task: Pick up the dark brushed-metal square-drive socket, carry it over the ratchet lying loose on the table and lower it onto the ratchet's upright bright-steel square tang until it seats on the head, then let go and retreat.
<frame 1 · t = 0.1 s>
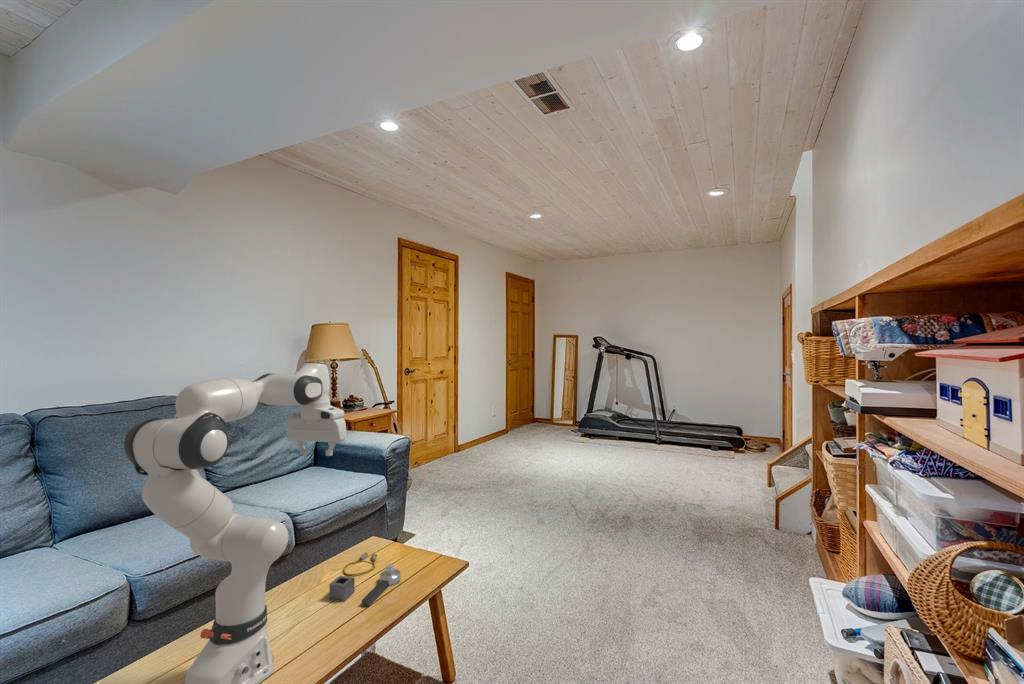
hand: (316, 454, 149), 48 cm above the table, fingers open, 8 cm apart
extension cord: (362, 567, 174), on the table
ratchet: (390, 581, 162), on the table
socket: (342, 595, 153), on the table
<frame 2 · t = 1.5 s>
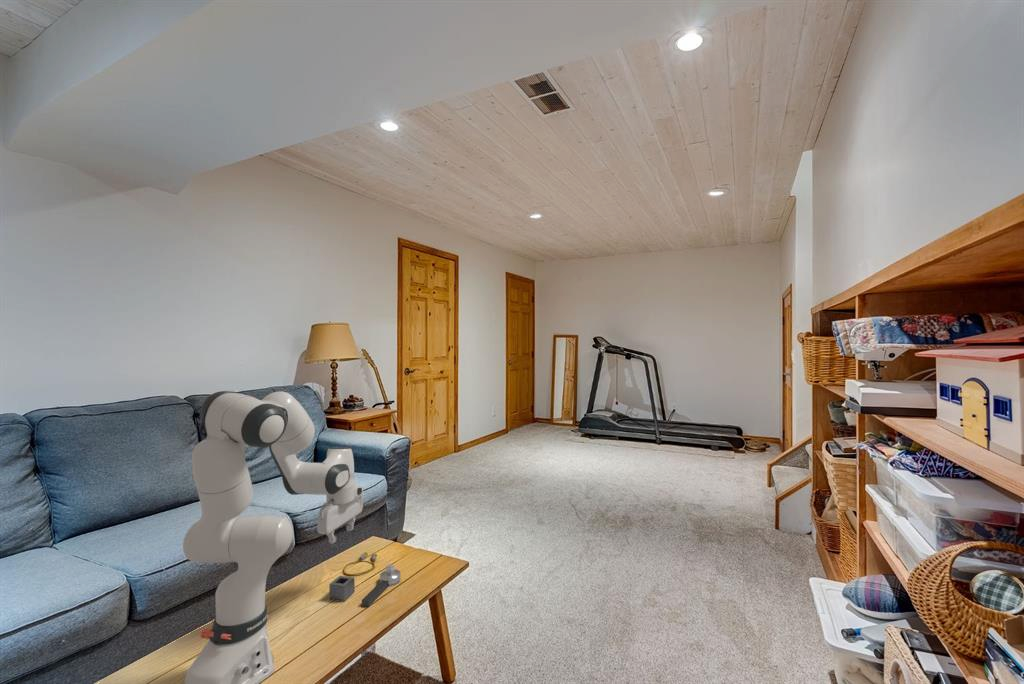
hand: (341, 536, 153), 20 cm above the table, fingers open, 8 cm apart
nothing on the table moved.
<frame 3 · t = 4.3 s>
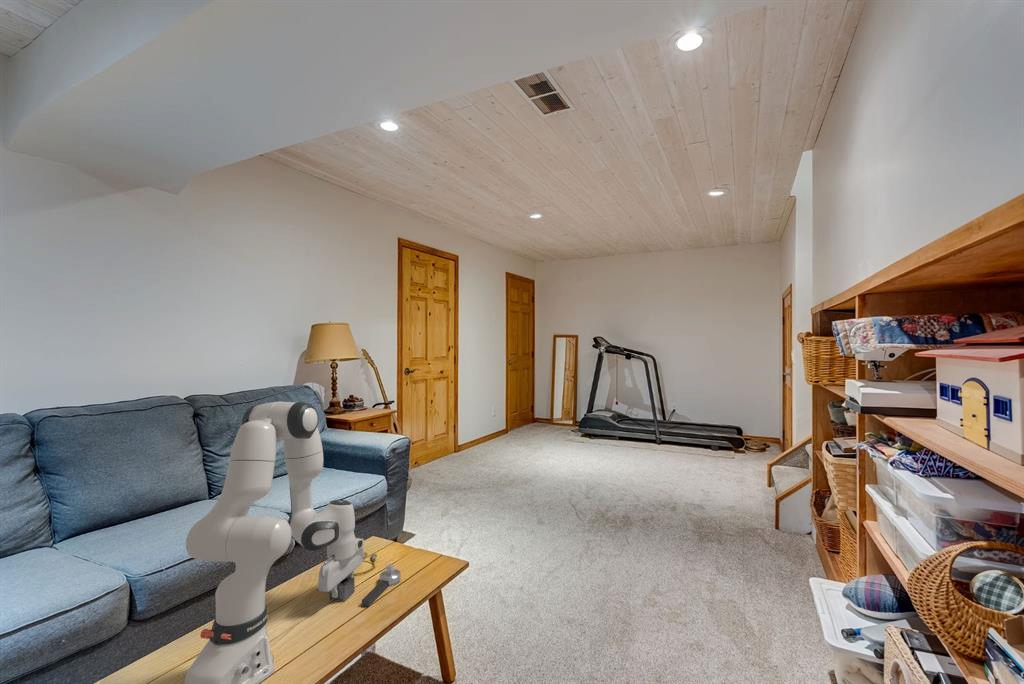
hand: (342, 591, 153), 2 cm above the table, fingers closed on socket, 6 cm apart
socket: (342, 595, 153), on the table, touching gripper
everything else where it was.
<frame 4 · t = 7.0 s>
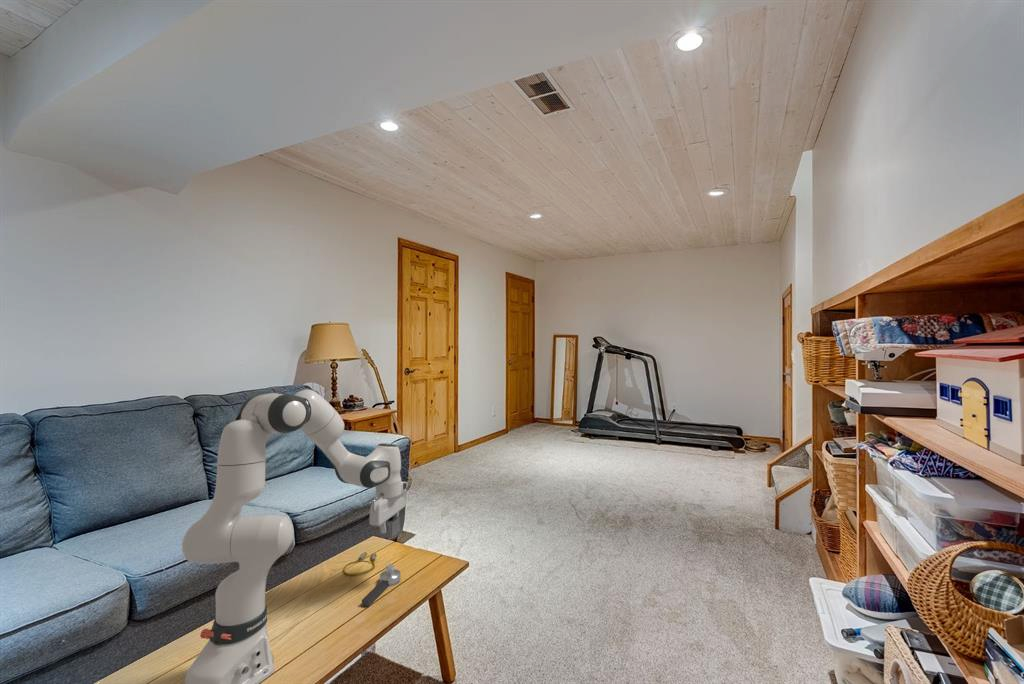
hand: (389, 528, 162), 18 cm above the table, fingers closed on socket, 6 cm apart
socket: (389, 533, 162), point 17 cm above the table, touching gripper
everything else where it was.
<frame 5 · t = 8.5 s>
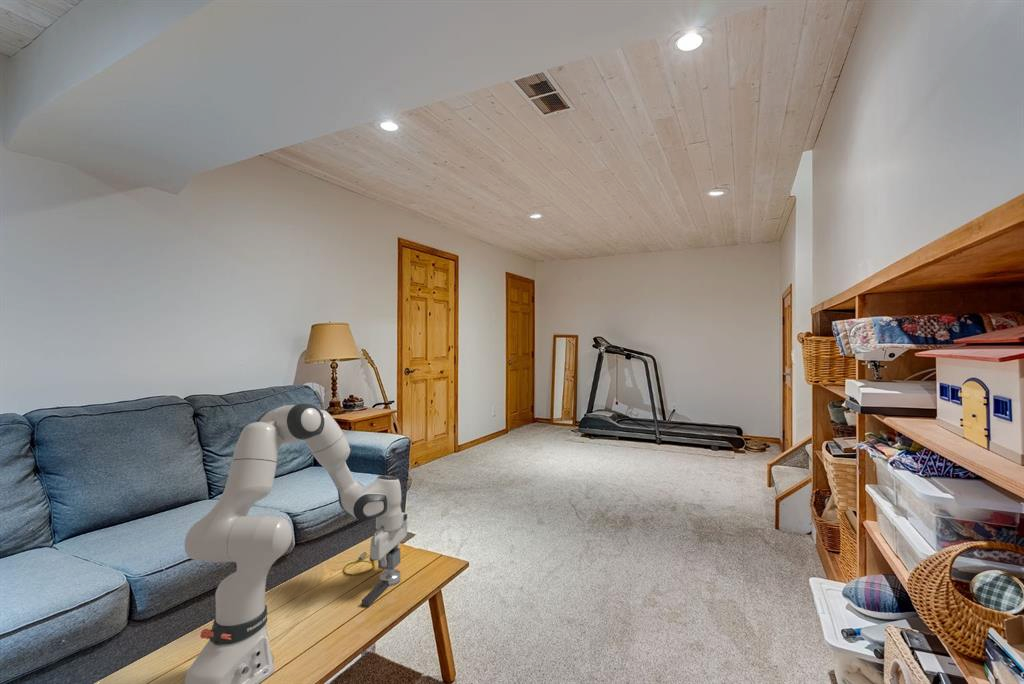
hand: (389, 560, 162), 7 cm above the table, fingers closed on socket, 6 cm apart
socket: (389, 565, 162), point 5 cm above the table, touching gripper
everything else where it was.
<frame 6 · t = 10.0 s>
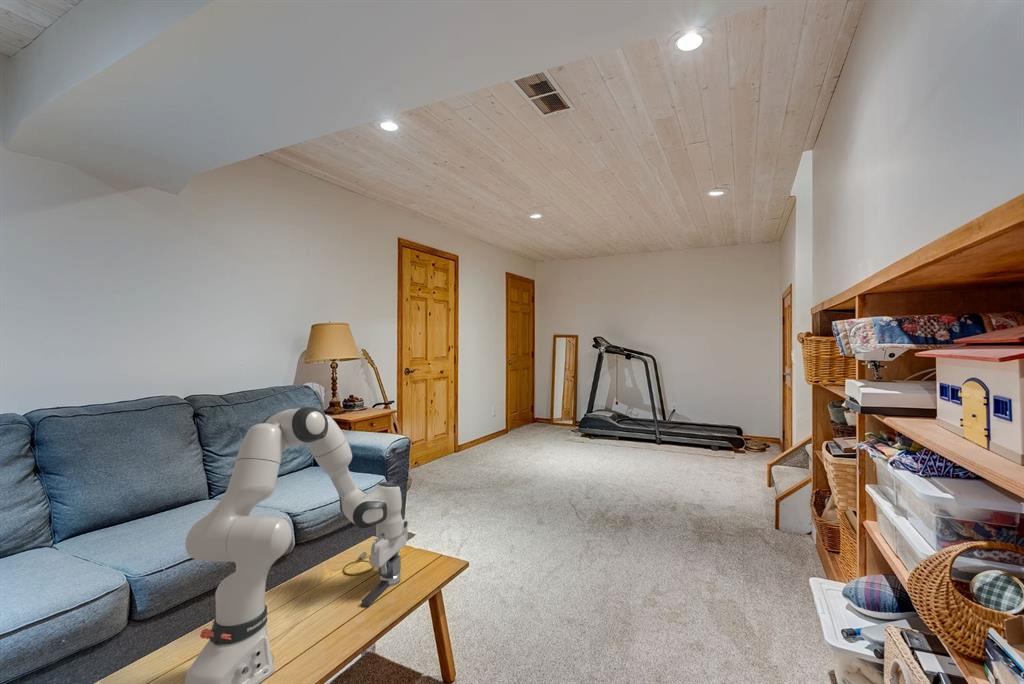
hand: (389, 568, 162), 5 cm above the table, fingers closed on socket, 6 cm apart
socket: (389, 572, 162), point 3 cm above the table, touching gripper
everything else where it was.
when the fingers open (5 cm above the table, at t = 10.1 s): socket stays where it is, resting on ratchet.
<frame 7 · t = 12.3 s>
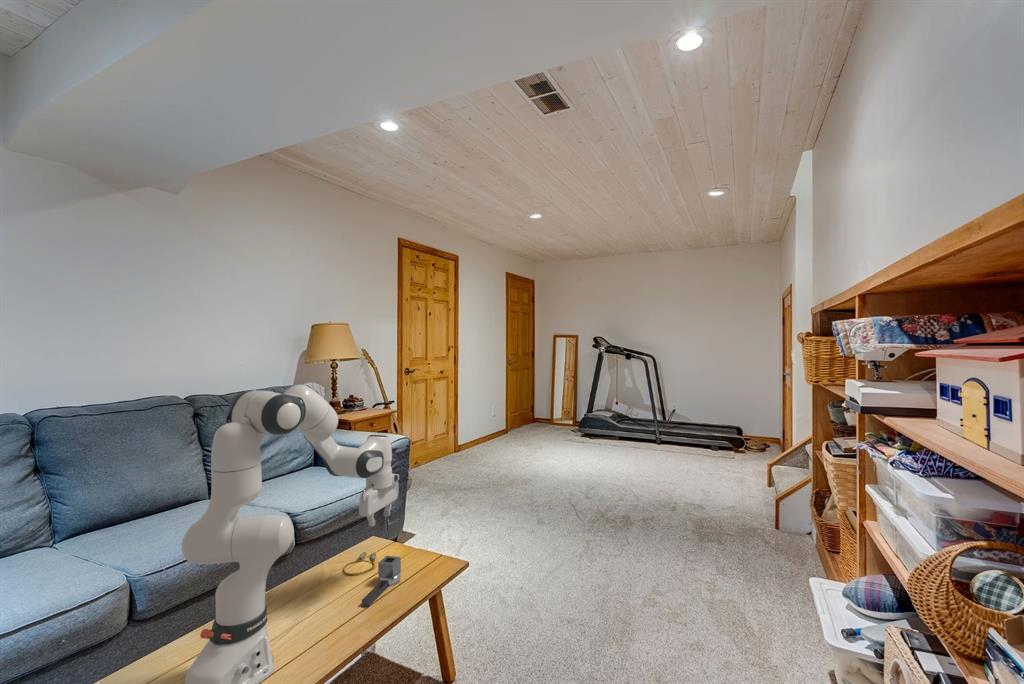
hand: (379, 520, 161), 22 cm above the table, fingers open, 8 cm apart
ratchet: (390, 581, 162), on the table, touching socket
socket: (389, 574, 162), point 2 cm above the table, touching ratchet
everything else where it was.
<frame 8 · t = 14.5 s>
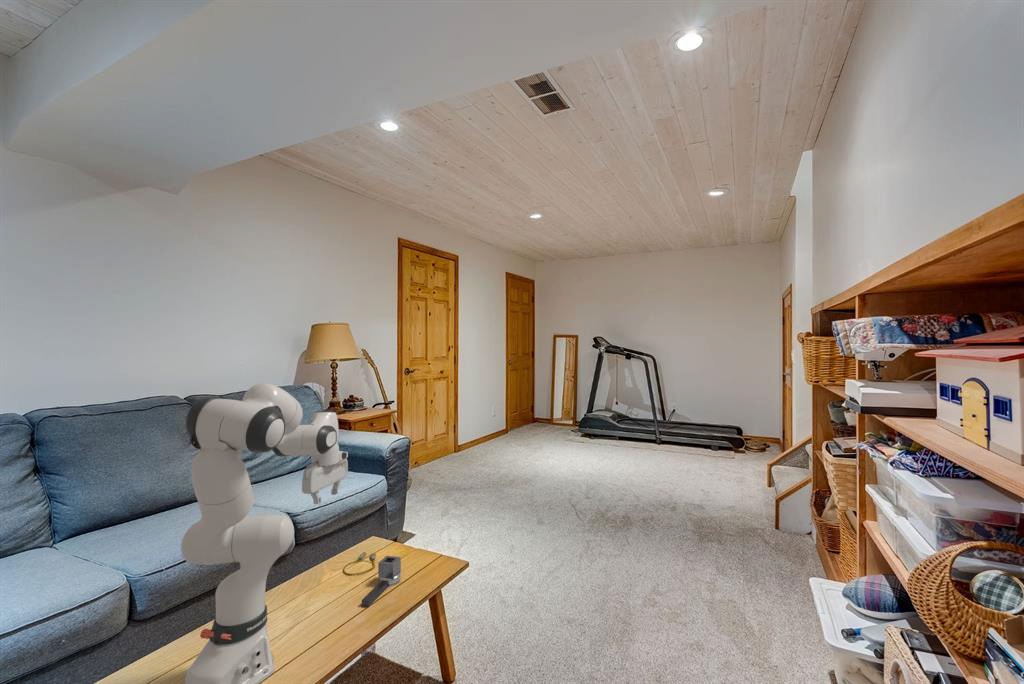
hand: (326, 498, 157), 31 cm above the table, fingers open, 8 cm apart
nothing on the table moved.
at the end: socket 0.1 cm off-centre on the ratchet, point 2.5 cm above the ratchet's base; socket tilted 0°; the gripper is holding nothing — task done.
